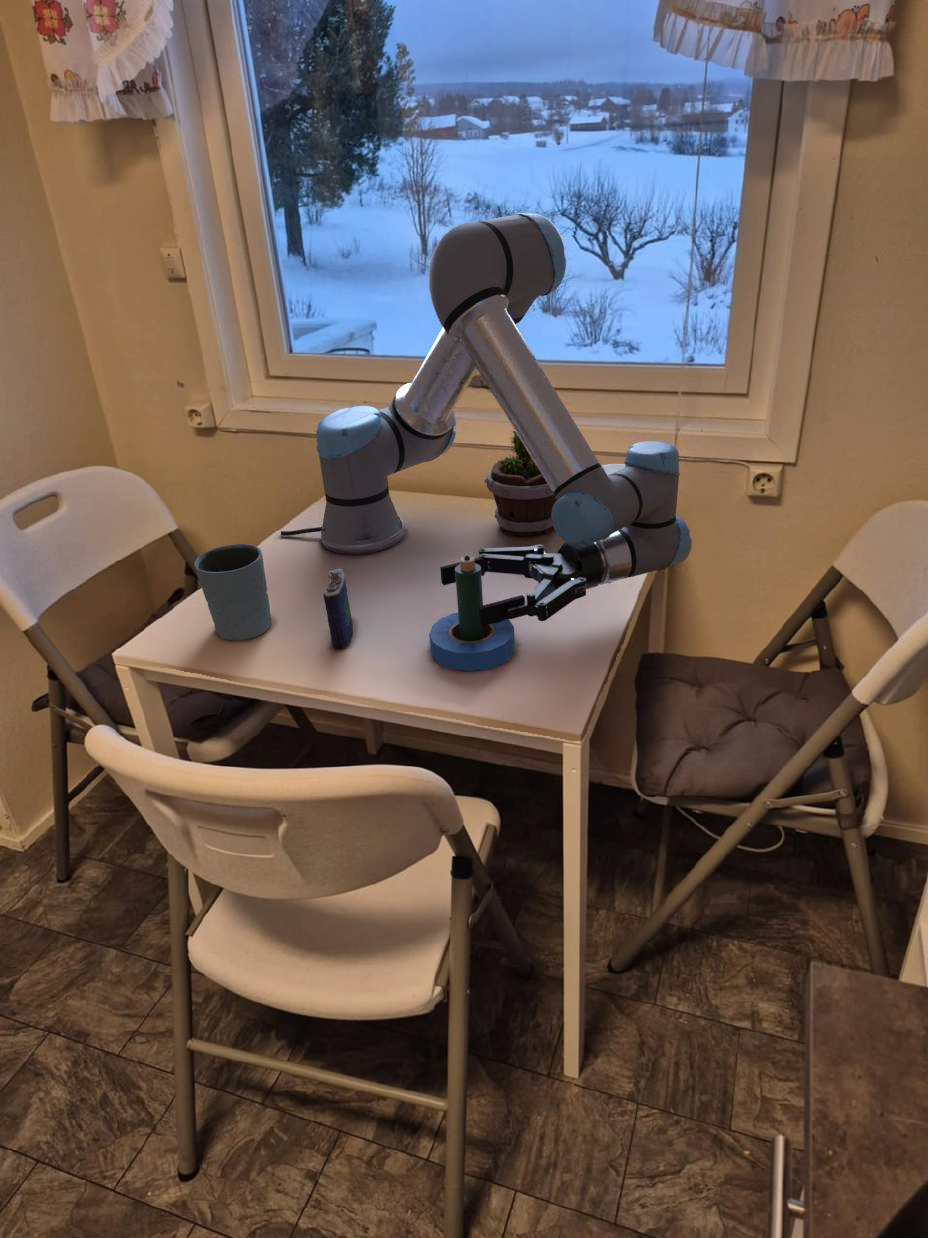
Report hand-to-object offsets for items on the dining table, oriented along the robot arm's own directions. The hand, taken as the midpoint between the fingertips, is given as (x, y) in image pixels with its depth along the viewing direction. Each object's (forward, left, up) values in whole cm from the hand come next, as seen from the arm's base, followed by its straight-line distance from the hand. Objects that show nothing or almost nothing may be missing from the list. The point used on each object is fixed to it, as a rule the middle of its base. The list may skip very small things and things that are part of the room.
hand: (459, 595), depth 119 cm
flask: (-19, -4, -9) cm, 22 cm away
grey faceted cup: (+2, +51, -9) cm, 52 cm away
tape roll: (+1, +1, -9) cm, 9 cm away
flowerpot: (-12, +43, -9) cm, 46 cm away
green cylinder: (+1, +1, -9) cm, 9 cm away
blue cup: (-35, -9, -9) cm, 37 cm away
